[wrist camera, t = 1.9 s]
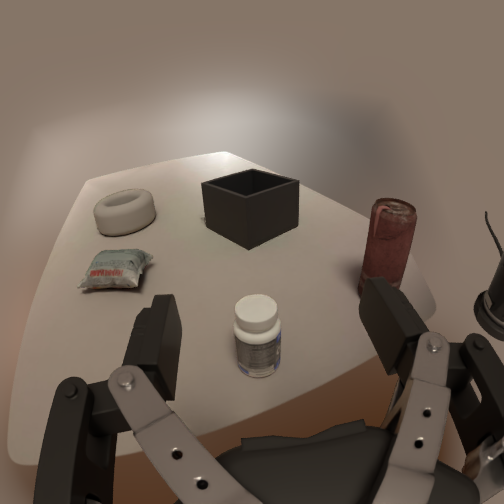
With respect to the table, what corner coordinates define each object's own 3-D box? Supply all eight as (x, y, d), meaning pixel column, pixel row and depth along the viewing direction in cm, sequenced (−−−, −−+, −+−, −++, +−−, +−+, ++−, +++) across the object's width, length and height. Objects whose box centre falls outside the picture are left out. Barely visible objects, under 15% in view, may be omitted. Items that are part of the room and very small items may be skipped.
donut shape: (87, 235, 61) (79, 209, 58) (123, 209, 73) (118, 187, 70) (131, 240, 57) (124, 211, 54) (167, 212, 69) (163, 186, 66)
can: (347, 291, 40) (361, 201, 33) (375, 277, 43) (390, 193, 36) (377, 314, 36) (400, 219, 29) (403, 296, 38) (426, 209, 31)
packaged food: (142, 297, 41) (133, 270, 39) (80, 297, 41) (70, 272, 39) (156, 266, 49) (150, 241, 46) (99, 268, 49) (92, 245, 46)
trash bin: (254, 208, 68) (252, 168, 63) (298, 226, 59) (299, 180, 54) (206, 227, 61) (201, 182, 56) (248, 250, 52) (245, 198, 47)
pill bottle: (286, 372, 29) (289, 318, 25) (244, 383, 28) (237, 330, 24) (272, 342, 33) (272, 287, 29) (233, 351, 32) (226, 296, 28)
